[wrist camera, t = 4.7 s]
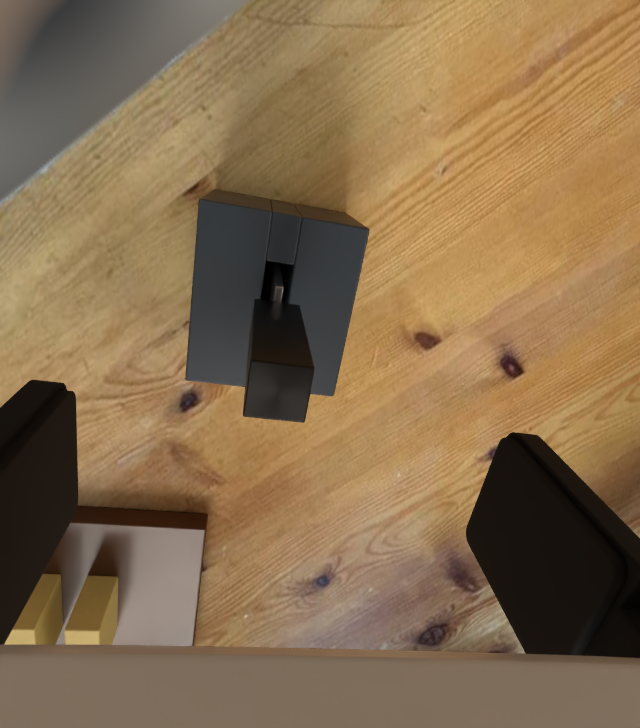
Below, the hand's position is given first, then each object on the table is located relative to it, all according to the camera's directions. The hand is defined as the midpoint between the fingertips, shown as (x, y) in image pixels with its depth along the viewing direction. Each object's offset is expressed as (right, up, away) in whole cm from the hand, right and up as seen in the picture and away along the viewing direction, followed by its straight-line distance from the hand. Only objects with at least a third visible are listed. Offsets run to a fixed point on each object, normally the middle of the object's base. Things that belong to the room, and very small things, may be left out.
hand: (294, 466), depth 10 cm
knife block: (-2, +7, +16) cm, 17 cm away
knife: (-2, +7, +16) cm, 17 cm away
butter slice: (-14, -14, +22) cm, 30 cm away
